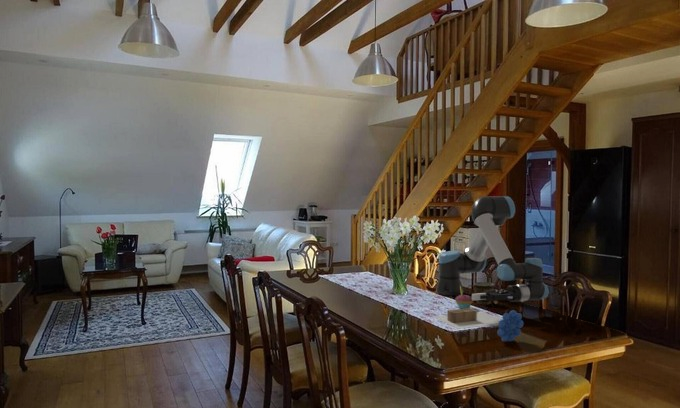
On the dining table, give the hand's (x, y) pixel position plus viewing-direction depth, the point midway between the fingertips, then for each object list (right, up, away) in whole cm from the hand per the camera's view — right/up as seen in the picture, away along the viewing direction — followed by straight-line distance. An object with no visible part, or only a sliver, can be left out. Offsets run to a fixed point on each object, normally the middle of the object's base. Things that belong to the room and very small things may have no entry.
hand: (472, 297), depth 215 cm
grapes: (+6, -12, -28) cm, 31 cm away
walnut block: (+1, -8, 0) cm, 8 cm away
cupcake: (+2, -10, +21) cm, 23 cm away
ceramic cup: (+13, -10, +33) cm, 37 cm away
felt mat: (-1, -11, 0) cm, 11 cm away
